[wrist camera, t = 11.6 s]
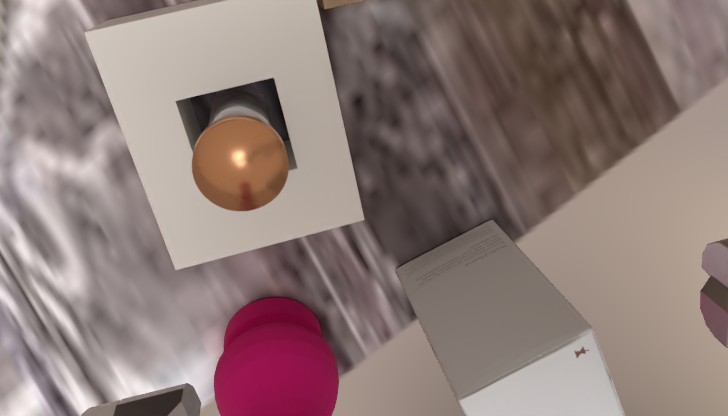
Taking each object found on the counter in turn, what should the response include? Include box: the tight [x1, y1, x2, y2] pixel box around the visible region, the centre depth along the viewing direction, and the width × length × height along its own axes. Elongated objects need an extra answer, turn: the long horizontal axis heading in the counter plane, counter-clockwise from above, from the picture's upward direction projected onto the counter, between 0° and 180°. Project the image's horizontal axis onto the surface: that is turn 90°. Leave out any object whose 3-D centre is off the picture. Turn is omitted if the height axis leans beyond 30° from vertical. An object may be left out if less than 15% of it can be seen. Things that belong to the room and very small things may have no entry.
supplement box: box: [396, 220, 625, 416], centre depth 35 cm, size 7×7×13 cm
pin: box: [192, 84, 289, 211], centre depth 28 cm, size 4×4×10 cm
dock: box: [84, 0, 364, 270], centre depth 31 cm, size 10×12×5 cm
